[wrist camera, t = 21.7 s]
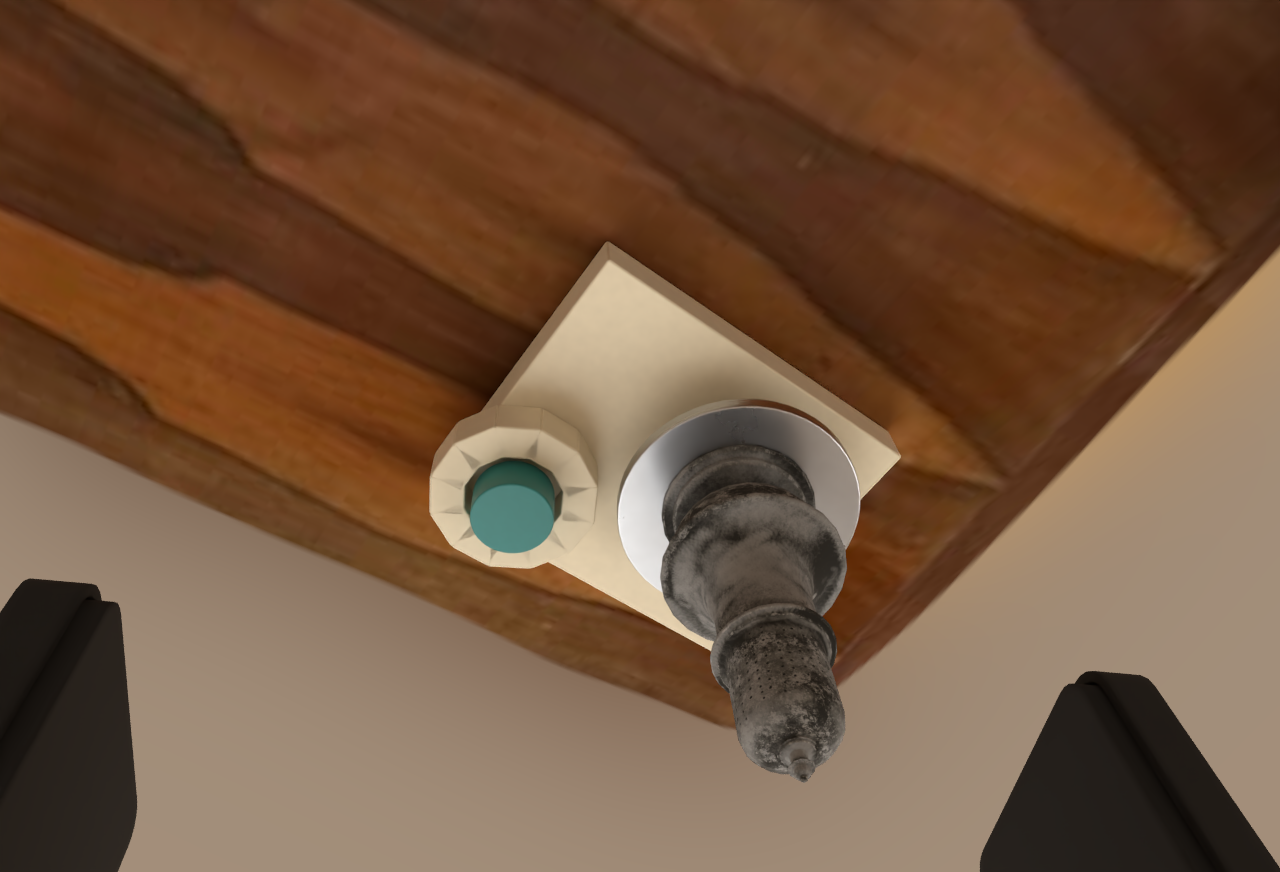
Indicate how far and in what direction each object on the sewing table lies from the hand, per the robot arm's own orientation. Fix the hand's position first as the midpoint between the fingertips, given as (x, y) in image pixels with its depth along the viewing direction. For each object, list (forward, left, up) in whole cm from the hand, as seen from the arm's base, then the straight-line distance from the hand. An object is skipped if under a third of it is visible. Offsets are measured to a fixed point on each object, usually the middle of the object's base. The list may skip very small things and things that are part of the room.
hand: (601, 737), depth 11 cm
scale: (+5, -12, -27) cm, 29 cm away
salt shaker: (+7, -11, -23) cm, 26 cm away
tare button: (-1, -12, -24) cm, 27 cm away
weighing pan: (+7, -11, -23) cm, 27 cm away
